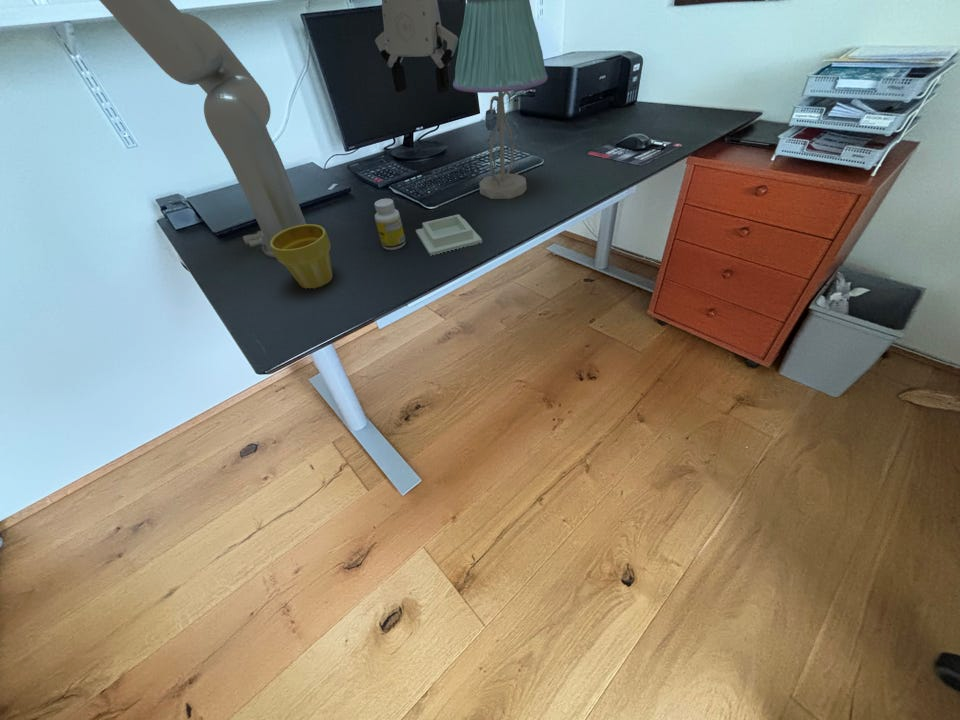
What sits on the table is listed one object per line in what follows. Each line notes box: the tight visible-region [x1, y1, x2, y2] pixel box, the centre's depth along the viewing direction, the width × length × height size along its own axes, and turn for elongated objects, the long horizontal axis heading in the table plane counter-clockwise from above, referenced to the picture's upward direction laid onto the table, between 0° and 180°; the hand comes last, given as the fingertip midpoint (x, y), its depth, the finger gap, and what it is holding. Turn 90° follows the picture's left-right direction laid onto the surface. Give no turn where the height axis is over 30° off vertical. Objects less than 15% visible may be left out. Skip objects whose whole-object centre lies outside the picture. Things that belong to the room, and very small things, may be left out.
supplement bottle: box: [374, 198, 407, 251], centre depth 88 cm, size 5×5×10 cm
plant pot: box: [270, 223, 334, 290], centre depth 79 cm, size 10×10×10 cm
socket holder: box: [415, 214, 483, 257], centre depth 91 cm, size 12×12×3 cm
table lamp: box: [452, 0, 549, 200], centre depth 96 cm, size 22×22×40 cm
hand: (421, 91), depth 80 cm, fingers open, 9 cm apart
